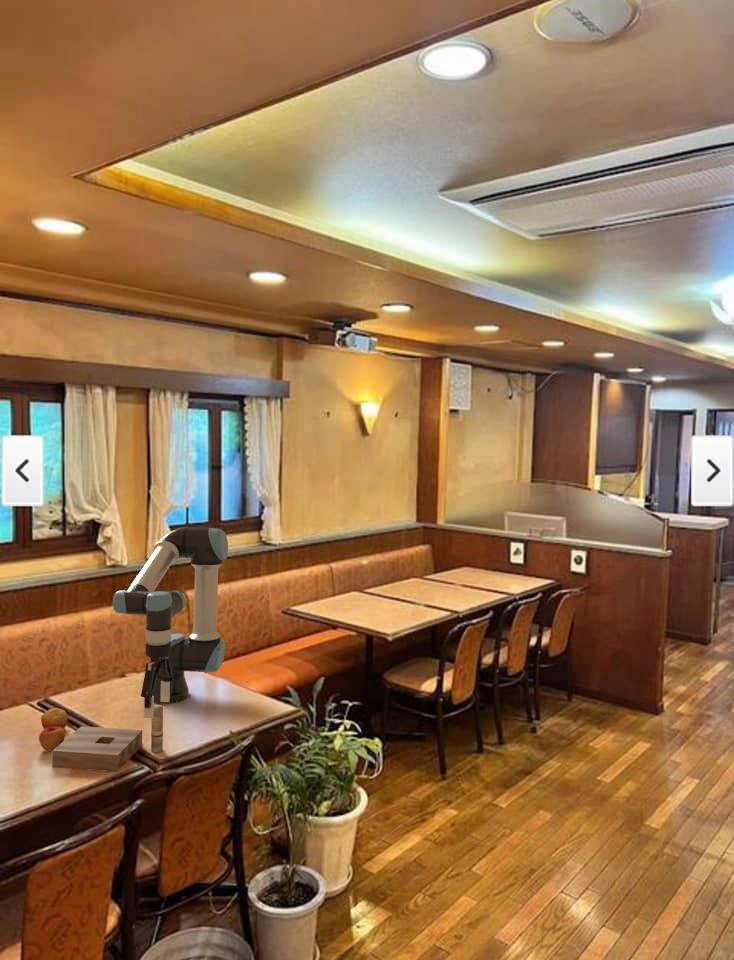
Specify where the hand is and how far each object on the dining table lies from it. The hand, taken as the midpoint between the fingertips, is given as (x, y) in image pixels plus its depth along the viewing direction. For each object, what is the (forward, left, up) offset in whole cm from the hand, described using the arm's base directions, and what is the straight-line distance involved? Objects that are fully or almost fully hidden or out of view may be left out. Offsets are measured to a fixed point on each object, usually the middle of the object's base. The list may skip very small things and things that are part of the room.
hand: (157, 709), depth 219 cm
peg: (0, 0, -13) cm, 13 cm away
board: (+6, -16, -13) cm, 22 cm away
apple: (+4, -32, -14) cm, 35 cm away
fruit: (-10, -39, -14) cm, 43 cm away
